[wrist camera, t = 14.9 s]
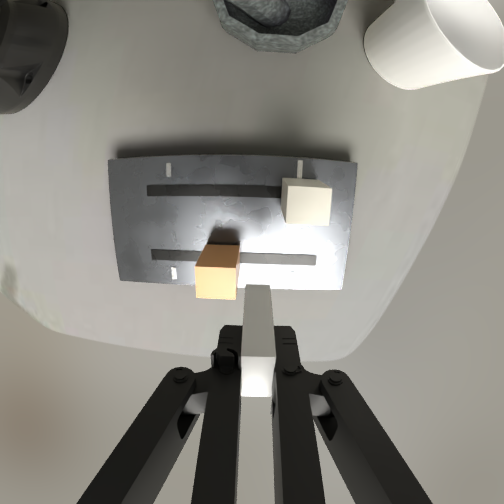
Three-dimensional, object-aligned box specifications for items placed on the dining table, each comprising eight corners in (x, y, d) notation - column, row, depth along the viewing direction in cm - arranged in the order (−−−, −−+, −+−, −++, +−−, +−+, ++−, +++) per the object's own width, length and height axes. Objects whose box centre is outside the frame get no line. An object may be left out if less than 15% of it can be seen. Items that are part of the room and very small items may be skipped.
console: (127, 272, 29) (119, 280, 27) (117, 158, 25) (107, 160, 23) (336, 280, 29) (341, 290, 27) (350, 161, 25) (357, 163, 23)
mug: (421, 1, 18) (482, -38, 6) (437, 96, 22) (518, 87, 11) (352, -16, 18) (395, -77, 7) (366, 84, 22) (435, 53, 11)
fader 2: (280, 208, 24) (285, 223, 20) (282, 177, 23) (288, 185, 19) (315, 210, 24) (328, 225, 20) (318, 179, 23) (332, 188, 19)
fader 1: (206, 271, 26) (196, 297, 22) (205, 244, 26) (194, 266, 21) (239, 272, 26) (235, 299, 22) (239, 245, 26) (235, 268, 21)
